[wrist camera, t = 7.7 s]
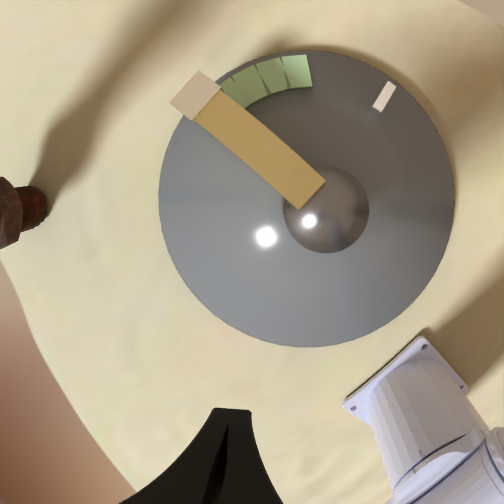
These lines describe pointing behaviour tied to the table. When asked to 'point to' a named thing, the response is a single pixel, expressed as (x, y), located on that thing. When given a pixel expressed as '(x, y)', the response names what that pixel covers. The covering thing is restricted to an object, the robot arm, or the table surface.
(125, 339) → the table surface
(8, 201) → the bolt
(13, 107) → the table surface
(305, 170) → the peg lever
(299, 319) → the dial plate
